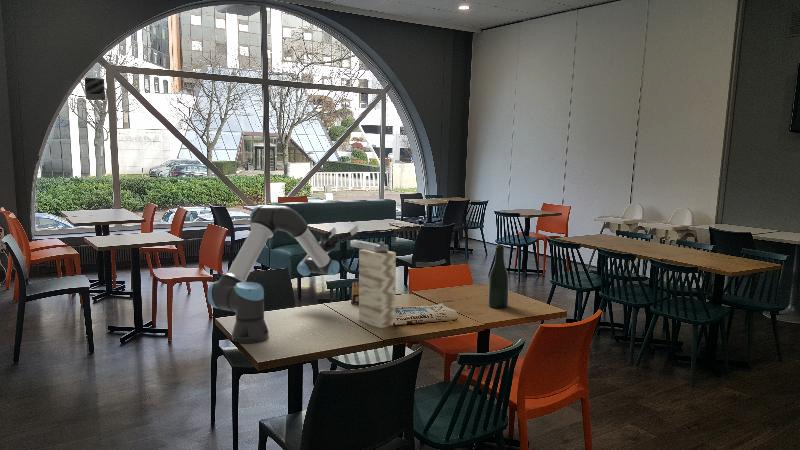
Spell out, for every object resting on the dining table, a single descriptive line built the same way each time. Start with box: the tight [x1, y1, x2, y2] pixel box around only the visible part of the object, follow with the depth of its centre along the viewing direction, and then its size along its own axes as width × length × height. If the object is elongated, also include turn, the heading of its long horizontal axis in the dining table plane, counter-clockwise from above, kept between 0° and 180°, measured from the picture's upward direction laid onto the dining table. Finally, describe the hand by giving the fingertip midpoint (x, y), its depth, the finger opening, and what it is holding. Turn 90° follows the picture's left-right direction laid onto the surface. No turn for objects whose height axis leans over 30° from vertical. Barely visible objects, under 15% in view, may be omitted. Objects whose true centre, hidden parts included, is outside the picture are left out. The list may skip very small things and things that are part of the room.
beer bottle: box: [487, 243, 510, 309], centre depth 290 cm, size 10×10×33 cm
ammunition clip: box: [350, 281, 359, 305], centre depth 296 cm, size 11×2×12 cm, turn 121°
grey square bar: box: [350, 239, 389, 253], centre depth 262 cm, size 6×25×5 cm, turn 41°
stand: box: [358, 249, 397, 329], centre depth 259 cm, size 9×16×34 cm, turn 41°
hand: (346, 228), depth 274 cm, fingers open, 13 cm apart
